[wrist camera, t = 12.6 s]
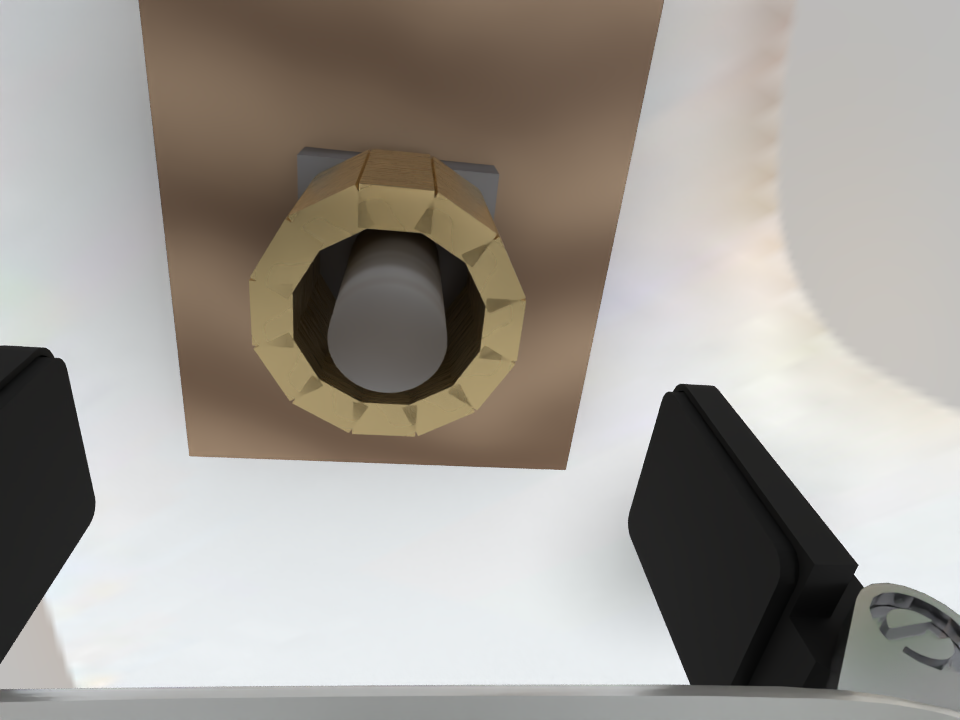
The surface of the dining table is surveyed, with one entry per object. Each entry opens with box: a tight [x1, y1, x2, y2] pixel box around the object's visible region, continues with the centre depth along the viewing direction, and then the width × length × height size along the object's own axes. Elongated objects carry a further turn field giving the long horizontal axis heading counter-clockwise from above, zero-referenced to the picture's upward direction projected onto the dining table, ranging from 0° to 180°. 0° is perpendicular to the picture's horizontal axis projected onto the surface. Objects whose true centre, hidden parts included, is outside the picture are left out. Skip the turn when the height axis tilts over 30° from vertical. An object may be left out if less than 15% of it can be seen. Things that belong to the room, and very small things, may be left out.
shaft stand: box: [139, 0, 664, 470], centre depth 19 cm, size 18×15×9 cm
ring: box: [249, 149, 526, 437], centre depth 18 cm, size 7×7×5 cm
